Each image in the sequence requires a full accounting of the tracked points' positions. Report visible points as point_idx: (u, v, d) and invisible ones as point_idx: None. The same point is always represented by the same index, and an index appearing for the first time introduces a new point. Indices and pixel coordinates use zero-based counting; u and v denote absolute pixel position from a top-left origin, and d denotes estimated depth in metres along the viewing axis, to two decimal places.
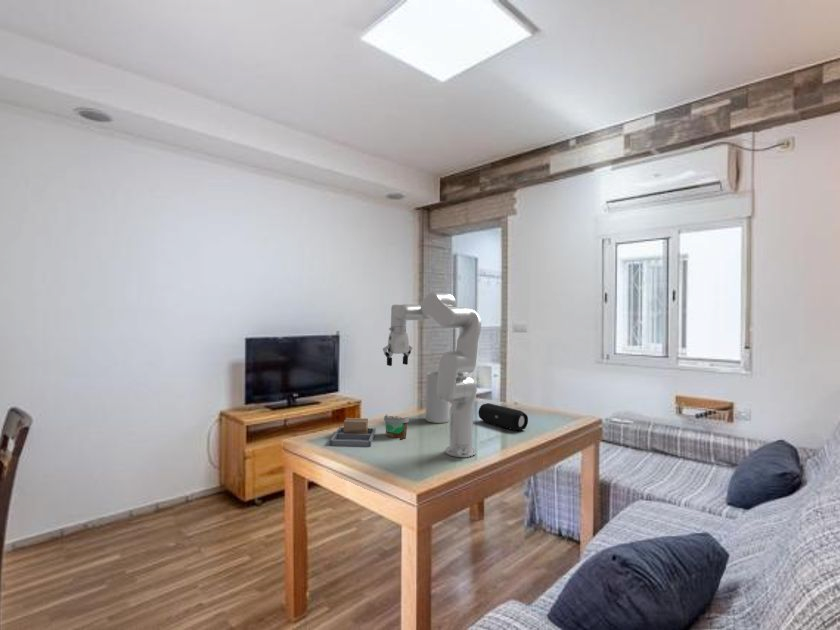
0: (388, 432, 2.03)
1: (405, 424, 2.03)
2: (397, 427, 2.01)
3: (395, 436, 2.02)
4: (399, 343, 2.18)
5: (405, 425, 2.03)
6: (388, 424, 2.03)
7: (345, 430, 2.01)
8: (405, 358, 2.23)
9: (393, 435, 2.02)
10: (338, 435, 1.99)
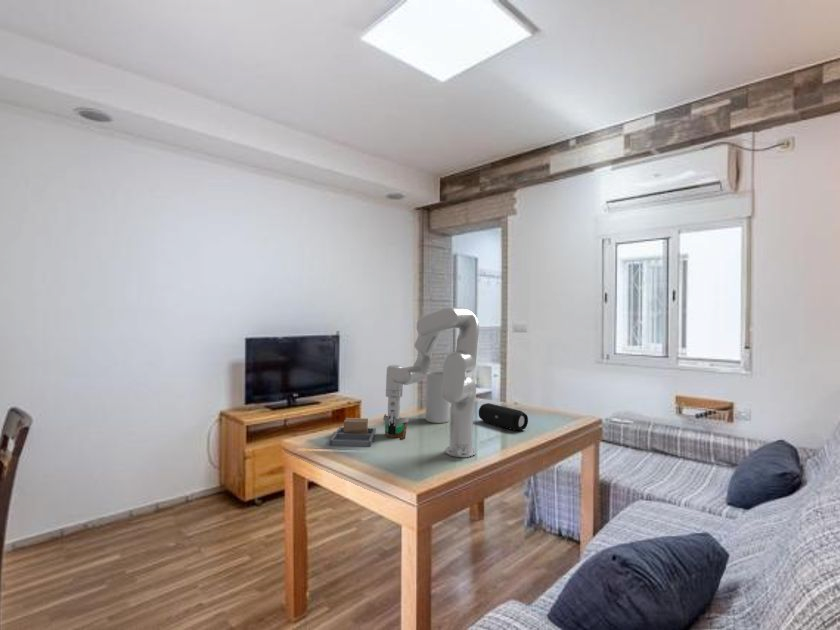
0: None
1: (405, 424, 2.03)
2: (397, 427, 2.01)
3: (395, 436, 2.02)
4: (399, 407, 2.03)
5: (404, 425, 2.03)
6: (388, 424, 2.02)
7: (345, 430, 2.01)
8: None
9: (393, 435, 2.02)
10: (338, 435, 1.99)
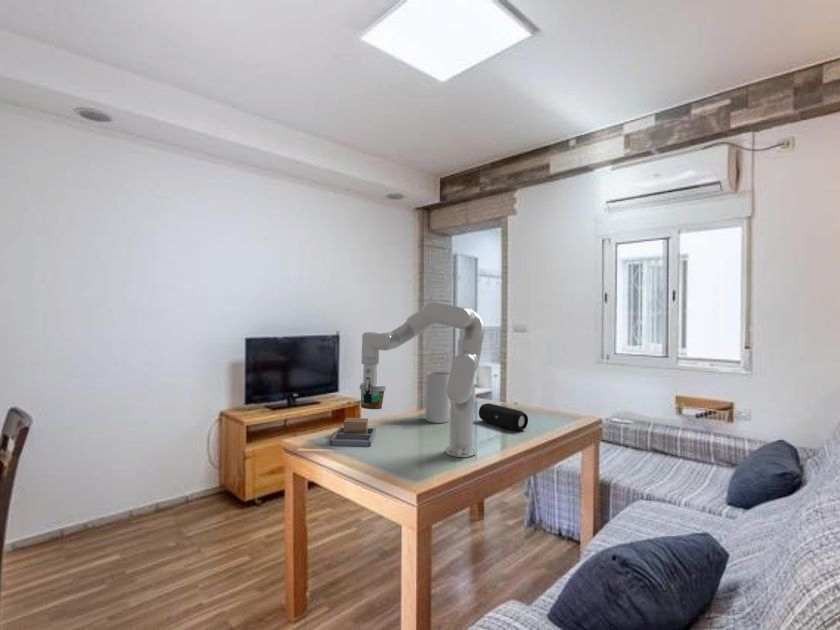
0: None
1: (382, 393, 1.96)
2: (373, 395, 1.95)
3: (371, 405, 1.95)
4: (375, 375, 1.96)
5: (381, 394, 1.96)
6: None
7: (345, 430, 2.01)
8: None
9: (369, 404, 1.95)
10: (338, 435, 1.99)
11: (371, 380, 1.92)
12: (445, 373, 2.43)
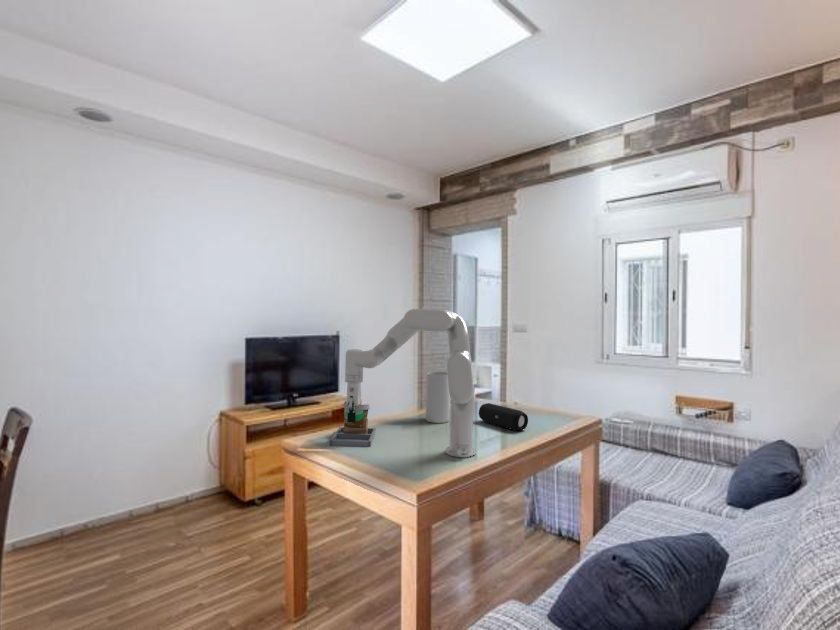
0: None
1: (366, 411, 1.93)
2: (357, 414, 1.91)
3: (354, 424, 1.91)
4: (359, 393, 1.93)
5: (365, 412, 1.93)
6: None
7: (345, 430, 2.01)
8: None
9: (352, 423, 1.91)
10: (338, 435, 1.99)
11: (355, 399, 1.89)
12: (445, 373, 2.43)
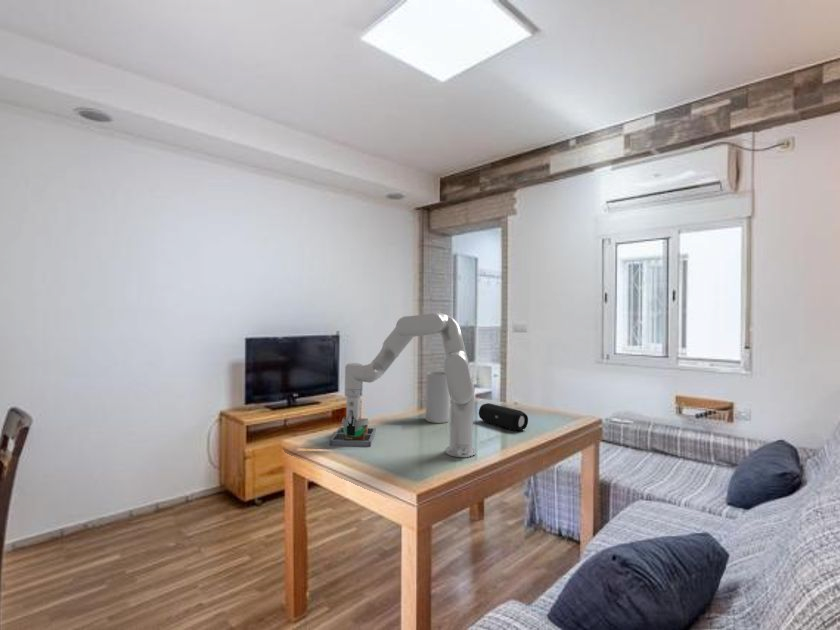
0: (347, 436, 1.91)
1: (365, 427, 1.93)
2: (357, 430, 1.91)
3: (354, 440, 1.91)
4: (359, 407, 1.93)
5: (365, 428, 1.93)
6: None
7: None
8: None
9: (352, 439, 1.91)
10: (338, 435, 1.99)
11: (354, 413, 1.89)
12: None
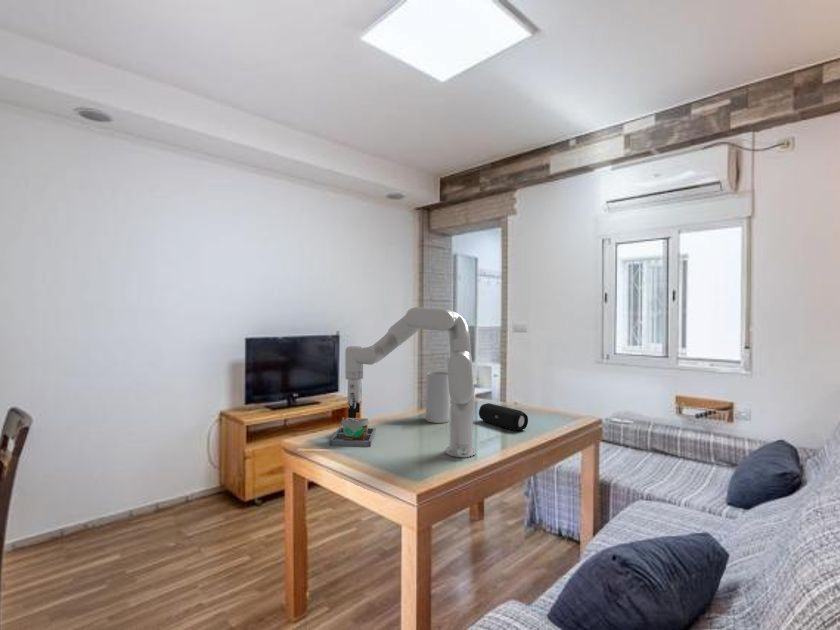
0: (347, 436, 1.91)
1: (365, 427, 1.93)
2: (356, 430, 1.90)
3: (354, 440, 1.91)
4: (360, 390, 1.92)
5: (364, 428, 1.92)
6: (347, 428, 1.91)
7: None
8: (357, 405, 1.98)
9: (352, 439, 1.90)
10: (338, 435, 1.99)
11: (356, 395, 1.89)
12: (445, 373, 2.43)
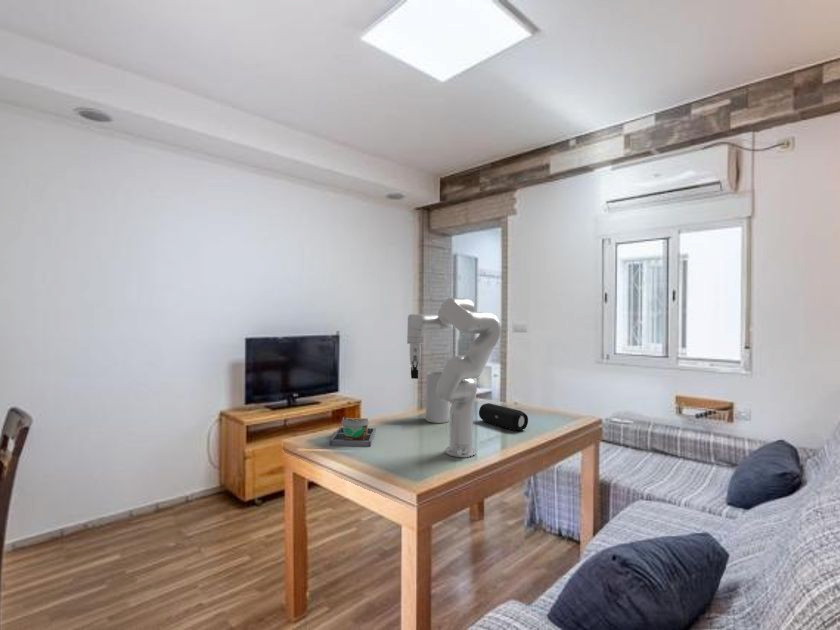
0: (347, 436, 1.91)
1: (365, 427, 1.93)
2: (356, 430, 1.90)
3: (354, 440, 1.91)
4: None
5: (364, 428, 1.92)
6: (347, 428, 1.91)
7: None
8: None
9: (352, 439, 1.90)
10: (338, 435, 1.99)
11: (418, 358, 2.07)
12: None
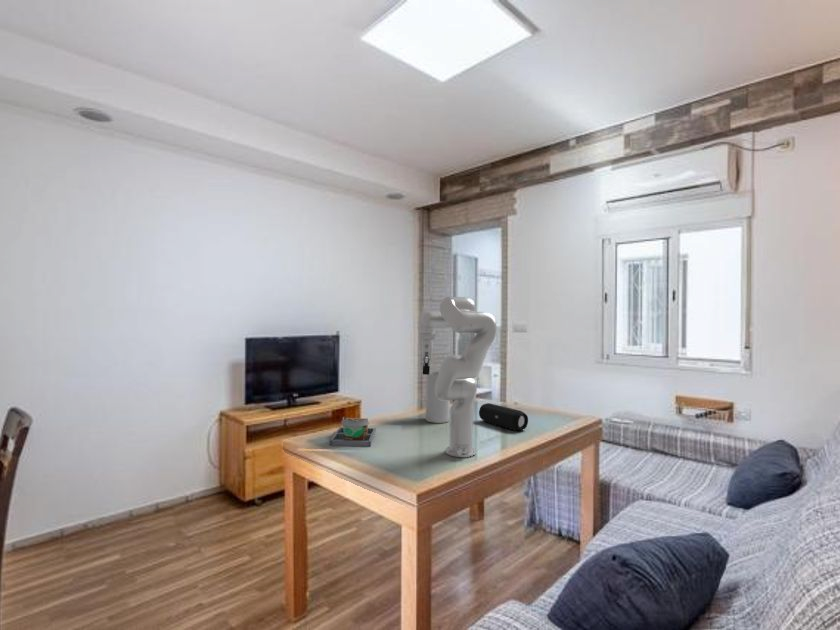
0: (347, 436, 1.91)
1: (365, 427, 1.93)
2: (356, 430, 1.90)
3: (354, 440, 1.91)
4: (432, 350, 2.15)
5: (364, 428, 1.92)
6: (347, 428, 1.91)
7: None
8: None
9: (352, 439, 1.90)
10: (338, 435, 1.99)
11: (429, 354, 2.11)
12: None
